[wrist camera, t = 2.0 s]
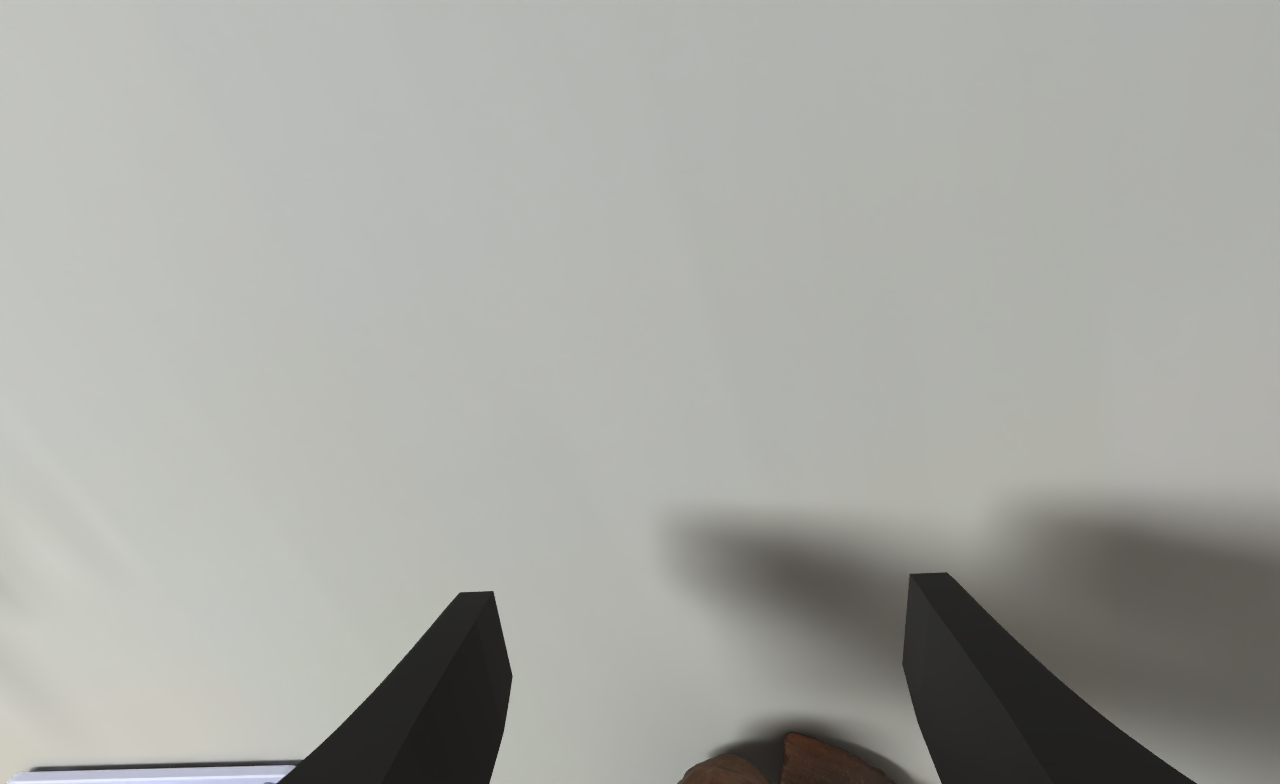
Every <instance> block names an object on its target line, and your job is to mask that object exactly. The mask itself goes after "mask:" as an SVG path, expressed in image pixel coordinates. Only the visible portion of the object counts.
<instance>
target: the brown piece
mask: <svg viewBox="0 0 1280 784" xmlns="http://www.w3.org/2000/svg"><path fill="white" fill-rule="evenodd" d="M783 758H784V765H783V767H782V769H781V771H780V774H779V781H778V784H895V783H894V782H892V781H891V780H890V779H889V778H888V777H887V776H886V775H885V774H884V773H883V772H882V771H881V770H879V769H877V768H874V767H872V766H870V765H868V764H867V763H866V762H864V761H863V760H861V759H860V758H859V757H857V756H854V755H851V754H850V753H848V752H847V751H845V750H843V749H840V748H837V747H834V746H831V745H828V744H826V743H824V742H822V741H819V740H816V739H813V738H810V737H806V736H803V735H800V734H797V733H788V734H787V735H786V737H785V739H784V748H783ZM677 784H770V782H769V781H768V780H767V779H766V777H765V776H764V775H763V774H762V773H761V772H760V771H759V769H758V768H756V767H755V766H754V765H753V764H751V763H749V762H748V761H746V760H744V759H743V758H741V757H739V756H737V755H734V754H727V755H721V756H717V757H714V758H712V759H708V760H706V761H704V762H701V763H699V764H696V765H695V766H694V767H692V768H690V769H689V770H688V771H687V772H686V773H685V775H684V777H683V779H682V780H681V781H679V782H678V783H677Z"/></svg>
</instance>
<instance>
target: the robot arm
mask: <svg viewBox="0 0 1280 784" xmlns="http://www.w3.org/2000/svg"><path fill="white" fill-rule="evenodd" d="M903 668H904V672H905V676H906V680H907V684H908V688H909V692H910V696H911V699H912V703H913V706H914V710H915V714H916V717H917V721H918V724H919V727H920V729H921V732H922V734H923V737H924V740H925V742H926V745H927V747H928V750H929V752H930V755H931V758H932V760H933V763H934V765H935V768H936V770H937V773H938V775H939V778H940V780H941V783H942V784H1197V783H1195V782H1194V781H1192V780H1191V779H1189V778H1188V777H1186V776H1185V775H1183V774H1182V773H1180V772H1179V771H1177V770H1176V769H1174V768H1173V767H1171V766H1170V765H1168V764H1167V763H1166V762H1164V761H1163V760H1161V759H1160V758H1159V757H1157V756H1156V755H1154V754H1153V753H1152V752H1150V751H1149V750H1148V749H1146V748H1145V747H1143V746H1142V745H1141V744H1139V743H1138V742H1137V741H1135V740H1134V739H1133V738H1131V737H1130V736H1128V735H1127V734H1126V733H1124V732H1123V731H1122V730H1120V729H1119V728H1118V727H1116V726H1115V725H1114V724H1112V723H1111V722H1110V721H1109V720H1107V719H1106V718H1105V717H1103V716H1102V715H1101V714H1100V713H1098V712H1097V711H1096V710H1095V709H1093V708H1092V707H1091V706H1090V705H1089V704H1087V703H1086V702H1085V701H1084V700H1083V699H1081V698H1080V697H1079V696H1078V695H1077V694H1075V693H1074V692H1073V691H1072V690H1071V689H1069V688H1068V687H1067V686H1066V685H1065V684H1064V683H1063V682H1061V681H1060V680H1059V679H1058V678H1057V677H1056V676H1055V675H1053V674H1052V673H1051V672H1050V671H1049V670H1048V669H1047V668H1046V667H1045V666H1043V665H1042V664H1041V663H1040V662H1039V661H1038V660H1037V659H1036V658H1035V657H1034V656H1033V655H1031V654H1030V653H1029V652H1028V651H1027V650H1026V649H1025V648H1024V647H1023V646H1022V645H1021V644H1019V643H1018V642H1017V641H1016V640H1015V639H1014V638H1013V637H1012V636H1011V635H1010V634H1009V633H1008V632H1007V631H1006V630H1005V629H1004V628H1003V627H1002V626H1001V625H1000V624H999V623H998V622H997V621H996V620H995V619H994V618H993V617H992V616H991V615H990V614H988V613H987V612H986V611H985V610H984V609H983V608H982V607H981V606H980V605H979V604H978V603H977V602H976V601H975V599H974V598H973V597H972V596H971V595H970V594H969V593H968V592H967V591H966V590H965V589H964V588H963V587H962V586H961V585H960V584H959V583H958V582H957V581H956V580H955V579H954V578H952V577H951V576H950V575H949V574H948V573H947V572H946V573H922V574H910V578H909V590H908V602H907V615H906V627H905V639H904V652H903ZM511 683H512V672H511V668H510V663H509V659H508V654H507V650H506V645H505V641H504V637H503V632H502V628H501V623H500V619H499V614H498V610H497V606H496V601H495V597H494V592H493V591H486V592H461V593H459V594H458V595H457V596H456V597H455V598H454V600H453V601H452V602H451V603H450V604H449V605H448V606H447V608H446V609H445V610H444V611H443V612H442V614H441V615H440V616H439V617H438V618H437V620H436V621H435V622H434V623H433V624H432V625H431V627H430V628H429V629H428V630H427V631H426V633H425V634H424V635H423V636H422V637H421V638H420V640H419V641H418V642H417V643H416V644H415V646H414V647H413V648H412V649H411V650H410V651H409V653H408V654H407V655H406V656H405V657H404V658H403V659H402V660H401V662H400V663H399V664H398V665H397V666H396V667H395V668H394V669H393V671H392V672H391V673H390V674H389V675H388V676H387V677H386V678H385V680H384V681H383V682H382V683H381V684H380V685H379V686H378V687H377V688H376V689H375V690H374V692H373V693H372V694H371V695H370V696H369V697H368V698H367V699H366V700H365V701H364V702H363V703H362V704H361V705H360V706H359V707H358V708H357V709H356V710H355V711H354V712H353V713H352V714H351V715H350V716H349V717H348V718H347V719H346V720H345V721H344V722H343V724H342V725H341V726H340V727H339V728H337V729H336V730H335V731H334V732H333V733H332V734H331V735H330V736H329V737H328V738H327V739H326V740H325V741H324V742H323V743H322V744H321V745H320V746H319V747H318V748H316V749H315V750H314V751H313V752H312V753H311V754H310V755H309V756H307V757H306V758H305V759H304V760H303V761H302V762H301V763H299V764H298V765H297V766H293V765H275V766H236V767H198V768H159V769H121V770H82V771H44V772H21V773H16V774H15V775H13V776H12V777H11V779H10V780H9V781H8V782H7V783H6V784H489V783H490V779H491V776H492V772H493V769H494V765H495V762H496V758H497V754H498V751H499V747H500V744H501V740H502V736H503V732H504V727H505V721H506V715H507V709H508V703H509V696H510V690H511Z"/></svg>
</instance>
